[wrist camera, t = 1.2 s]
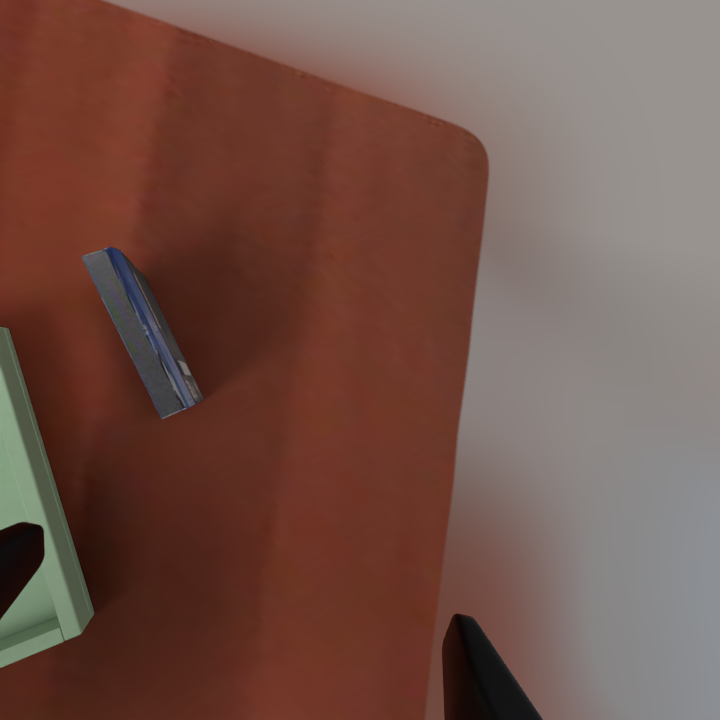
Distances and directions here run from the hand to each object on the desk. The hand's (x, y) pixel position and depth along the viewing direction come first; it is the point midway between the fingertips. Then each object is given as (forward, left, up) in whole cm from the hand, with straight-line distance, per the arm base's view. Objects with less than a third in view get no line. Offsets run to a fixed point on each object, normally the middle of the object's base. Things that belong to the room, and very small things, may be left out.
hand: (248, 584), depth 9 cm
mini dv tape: (-3, +8, -18) cm, 19 cm away
